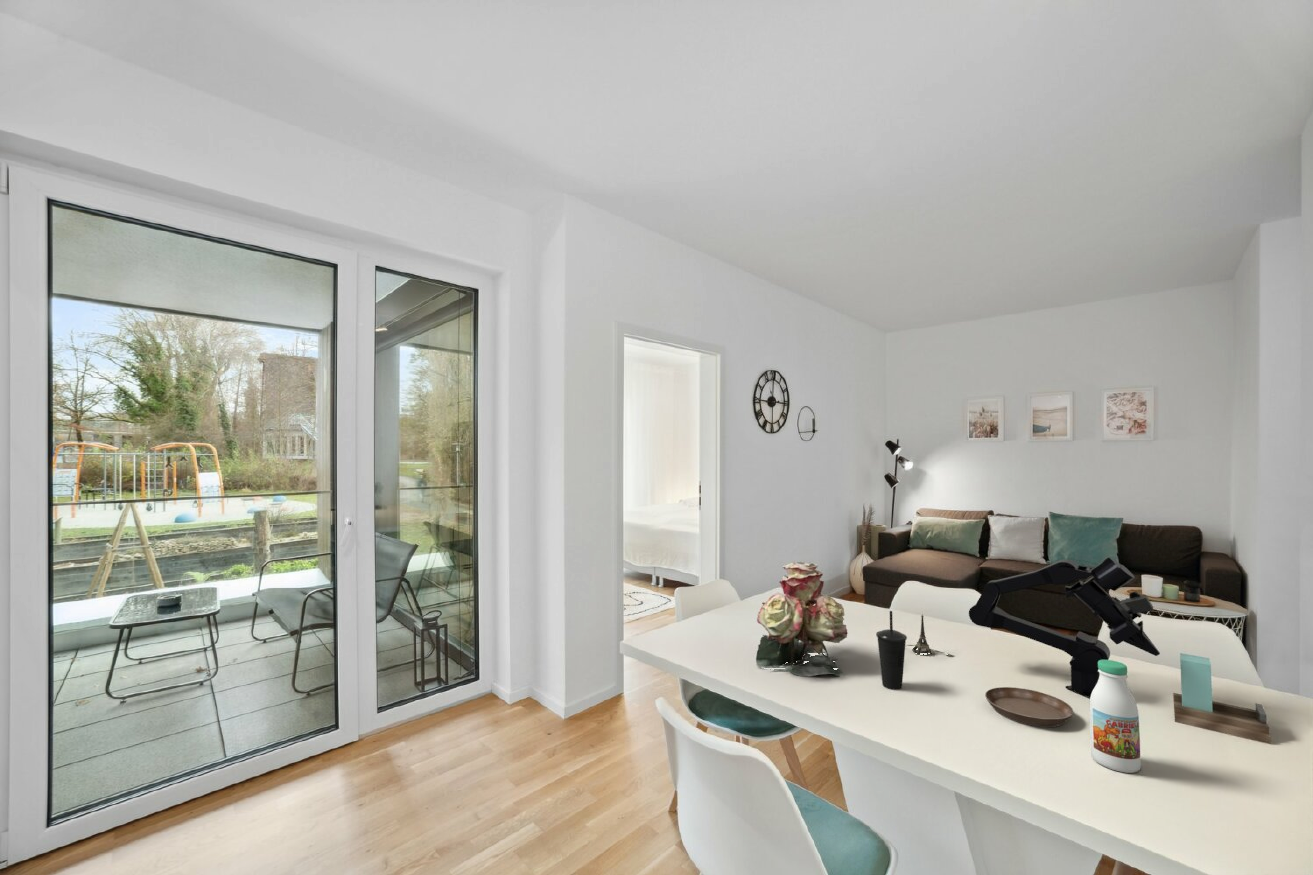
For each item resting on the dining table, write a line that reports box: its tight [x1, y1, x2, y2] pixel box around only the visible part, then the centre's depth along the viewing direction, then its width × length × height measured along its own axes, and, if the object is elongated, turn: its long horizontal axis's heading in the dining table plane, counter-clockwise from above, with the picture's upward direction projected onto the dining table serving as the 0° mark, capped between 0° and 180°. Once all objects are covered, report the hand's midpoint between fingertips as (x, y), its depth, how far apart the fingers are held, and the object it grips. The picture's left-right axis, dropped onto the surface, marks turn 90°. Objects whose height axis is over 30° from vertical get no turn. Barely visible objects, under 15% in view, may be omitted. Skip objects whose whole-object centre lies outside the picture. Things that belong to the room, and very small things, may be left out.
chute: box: [1172, 692, 1272, 745], centre depth 128 cm, size 15×13×5 cm
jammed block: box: [1179, 653, 1213, 713], centre depth 131 cm, size 5×6×12 cm
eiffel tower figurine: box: [907, 614, 956, 658], centre depth 174 cm, size 15×10×13 cm
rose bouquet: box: [755, 561, 849, 677], centre depth 167 cm, size 26×29×30 cm
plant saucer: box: [984, 686, 1074, 728], centre depth 133 cm, size 18×18×3 cm
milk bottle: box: [1089, 659, 1141, 774], centre depth 111 cm, size 8×8×20 cm
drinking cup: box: [875, 610, 908, 691], centre depth 149 cm, size 8×8×20 cm
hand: (1158, 654), depth 135 cm, fingers closed
